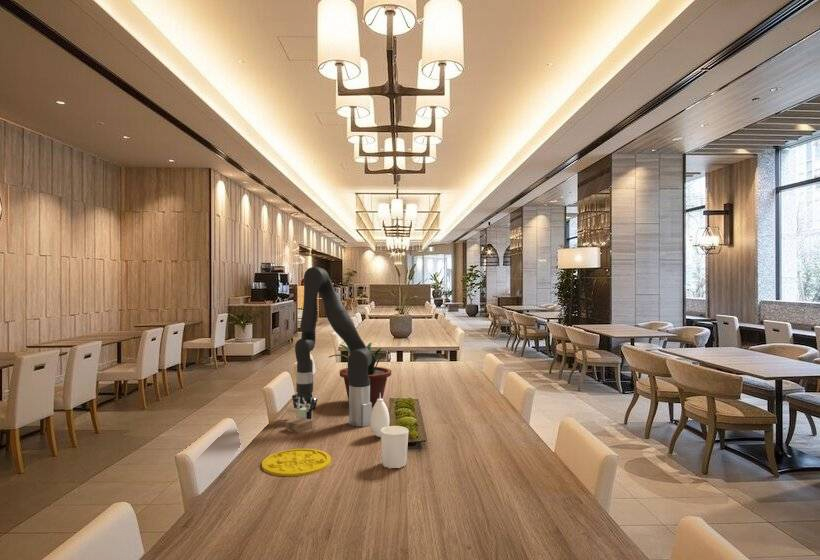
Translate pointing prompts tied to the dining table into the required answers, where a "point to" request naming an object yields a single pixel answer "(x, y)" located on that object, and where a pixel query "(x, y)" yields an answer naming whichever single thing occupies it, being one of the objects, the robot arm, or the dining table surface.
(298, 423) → the tan square block
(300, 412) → the sage wooden cube
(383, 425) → the sauce bottle
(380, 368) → the potted plant
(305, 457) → the decorative medallion
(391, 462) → the candle holder
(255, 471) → the dining table surface
